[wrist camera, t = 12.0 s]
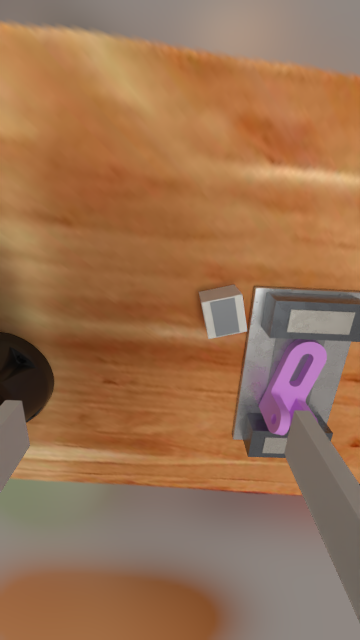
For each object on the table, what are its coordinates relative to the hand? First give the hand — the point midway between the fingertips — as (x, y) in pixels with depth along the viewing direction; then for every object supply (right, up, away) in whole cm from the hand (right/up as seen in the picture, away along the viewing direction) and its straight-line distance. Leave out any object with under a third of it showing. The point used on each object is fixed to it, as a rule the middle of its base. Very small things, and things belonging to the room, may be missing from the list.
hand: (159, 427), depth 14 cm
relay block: (+7, +7, +26) cm, 28 cm away
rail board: (+18, -2, +30) cm, 35 cm away
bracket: (+18, -3, +29) cm, 34 cm away
